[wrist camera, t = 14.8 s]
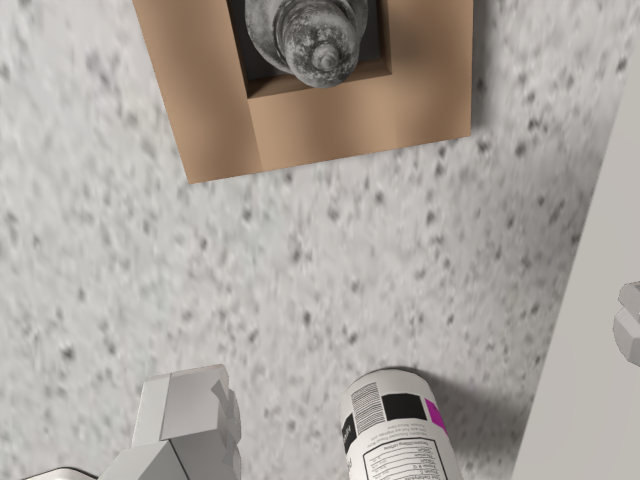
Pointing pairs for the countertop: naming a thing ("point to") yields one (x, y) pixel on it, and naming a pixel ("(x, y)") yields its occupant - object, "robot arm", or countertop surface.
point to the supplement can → (395, 430)
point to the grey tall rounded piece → (309, 37)
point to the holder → (307, 86)
